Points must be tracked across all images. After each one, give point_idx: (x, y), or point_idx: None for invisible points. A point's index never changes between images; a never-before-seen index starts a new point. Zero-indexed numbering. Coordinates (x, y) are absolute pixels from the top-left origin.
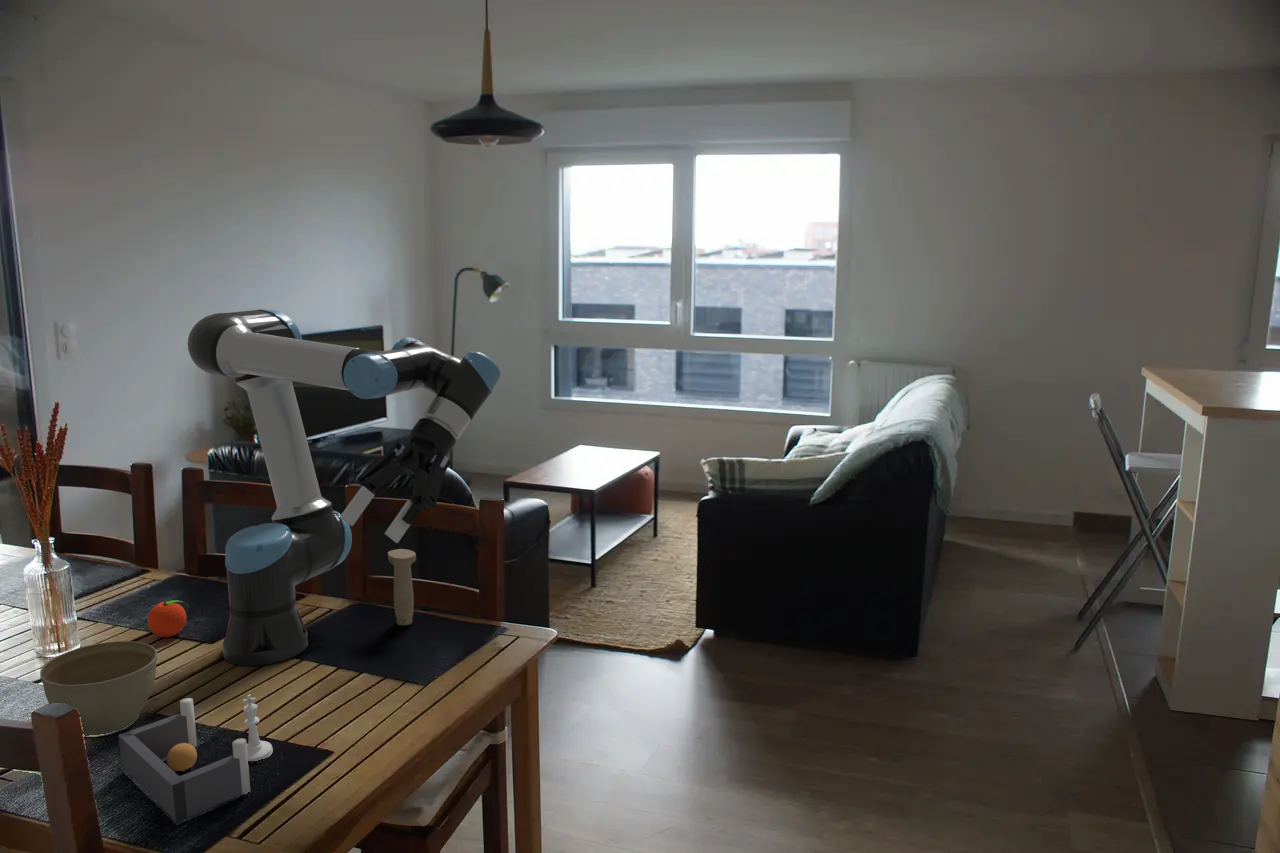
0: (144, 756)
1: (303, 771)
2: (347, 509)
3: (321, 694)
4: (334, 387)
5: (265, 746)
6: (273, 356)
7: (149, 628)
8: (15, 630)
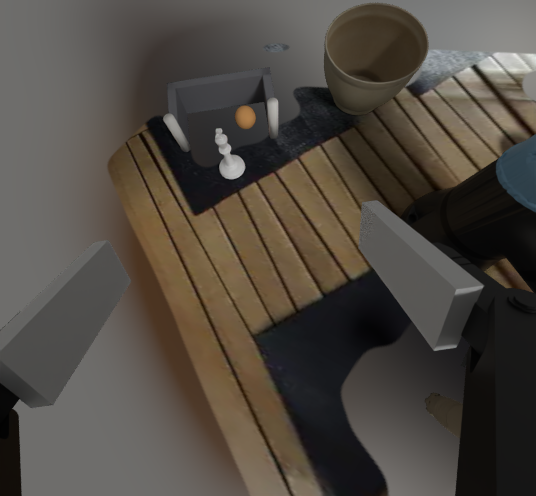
0: (221, 76)
1: (184, 188)
2: (379, 215)
3: (301, 244)
4: None
5: (226, 170)
6: None
7: None
8: None
